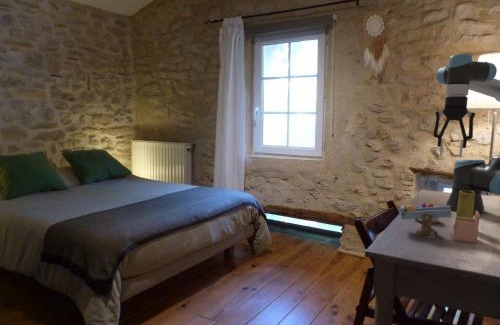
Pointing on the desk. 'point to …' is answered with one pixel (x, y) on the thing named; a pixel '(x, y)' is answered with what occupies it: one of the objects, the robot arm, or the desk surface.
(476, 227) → the pink square box
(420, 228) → the fulcrum
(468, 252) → the desk surface
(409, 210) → the ball
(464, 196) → the vase
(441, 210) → the lever
